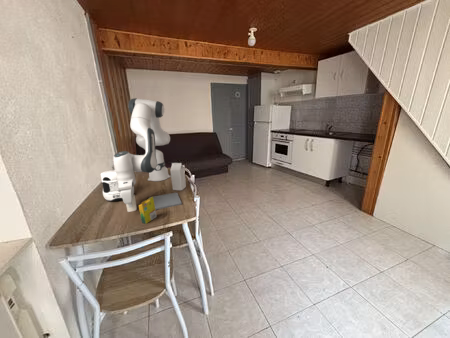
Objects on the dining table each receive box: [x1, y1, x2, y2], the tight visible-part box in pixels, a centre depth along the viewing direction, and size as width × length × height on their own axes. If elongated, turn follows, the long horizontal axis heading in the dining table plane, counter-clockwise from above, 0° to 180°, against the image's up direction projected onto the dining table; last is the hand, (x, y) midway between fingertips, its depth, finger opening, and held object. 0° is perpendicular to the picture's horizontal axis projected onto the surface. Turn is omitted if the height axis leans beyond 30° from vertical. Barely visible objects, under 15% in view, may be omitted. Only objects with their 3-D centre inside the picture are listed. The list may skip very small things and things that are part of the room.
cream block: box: [125, 194, 138, 213], centre depth 107 cm, size 4×4×8 cm
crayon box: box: [138, 196, 158, 225], centre depth 94 cm, size 7×3×12 cm, turn 155°
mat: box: [148, 191, 182, 211], centre depth 116 cm, size 18×18×1 cm
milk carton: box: [169, 162, 187, 191], centre depth 134 cm, size 7×7×19 cm
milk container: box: [100, 168, 123, 202], centre depth 123 cm, size 17×17×18 cm
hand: (131, 204), depth 107 cm, fingers open, 5 cm apart
